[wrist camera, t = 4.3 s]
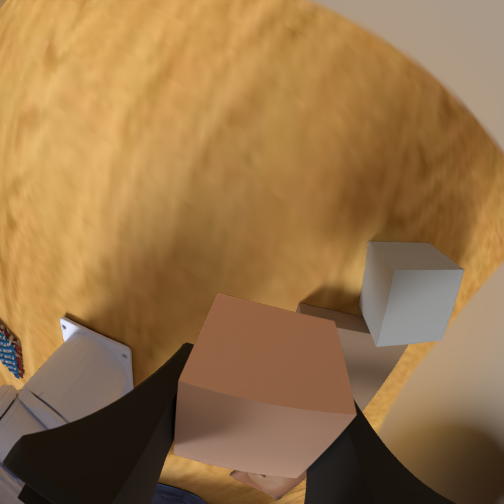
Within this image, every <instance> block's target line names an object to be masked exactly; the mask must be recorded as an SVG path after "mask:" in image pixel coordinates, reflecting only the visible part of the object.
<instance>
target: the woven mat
mask: <svg viewBox="0 0 504 504" xmlns="http://www.w3.org/2000/svg"><path fill="white" fill-rule="evenodd" d="M21 357H22V356H21V353H20V343H19V340H18V339H17V342H16V341H15V338H14V336H13V335H12V334H11V335H10V332H9V330H8V329H7V333H6V331H5V326H4V325H3V324H1V322H0V361H1V362H2V363H3V365H5V366H6V367H8V369H9V371H10V372H11V373H12V374H14V375H15V377H16V378H18V379H20V377H21V378H23V373H24V372H23V369H22V361H21ZM18 375H19V376H20V377H19V376H18Z"/></svg>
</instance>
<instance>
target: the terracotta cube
mask: <svg viewBox="0 0 504 504" xmlns="http://www.w3.org/2000/svg"><path fill="white" fill-rule="evenodd" d="M356 415H357V414H356V409H355V404H354V399H353V395H352V390H351V386H350V381H349V377H348V372H347V368H346V364H345V360H344V356H343V352H342V348H341V344H340V340H339V336H338V332H337V328H336V324H335V321H332V320H328V319H323V318H318V317H314V316H310V315H305V314H301V313H297V312H292V311H288V310H284V309H280V308H276V307H272V306H268V305H264V304H260V303H256V302H252V301H248V300H244V299H240V298H236V297H233V296H229V295H225V294H221V293H218V294H217V296H216V298H215V300H214V302H213V305H212V307H211V309H210V311H209V313H208V316H207V318H206V320H205V322H204V324H203V327H202V329H201V331H200V333H199V335H198V338H197V340H196V342H195V344H194V347H193V349H192V351H191V353H190V356H189V358H188V360H187V362H186V365H185V367H184V369H183V371H182V374H181V376H180V378H179V380H178V392H177V405H176V419H175V436H174V454H175V455H178V456H181V457H184V458H188V459H191V460H195V461H198V462H202V463H206V464H210V465H214V466H218V467H223V468H228V469H232V470H238V471H243V472H249V473H255V474H262V475H269V476H278V477H288V478H297V477H298V476H300V475H301V474H302V473H303V472H304V471H305V470H306V469H307V468H308V467H309V466H310V465H311V464H312V463H313V462H314V461H315V460H316V459H317V458H318V457H319V456H320V455H321V454H322V453H323V452H324V451H325V450H326V449H327V448H328V447H329V446H330V445H331V444H332V443H333V442H334V441H335V439H336V438H337V437H338V436H339V435H340V434H341V433H342V432H343V431H344V429H345V428H346V427H347V426H348V425H349V424H350V422H351V421H352V420H353V419H354V418H355V416H356Z"/></svg>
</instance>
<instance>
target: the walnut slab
mask: <svg viewBox="0 0 504 504" xmlns="http://www.w3.org/2000/svg"><path fill="white" fill-rule="evenodd" d="M296 312H297V313H301V314H305V315H310V316H314V317H318V318H323V319H328V320H332V321H335V324H336V328H337V332H338V336H339V340H340V344H341V348H342V352H343V356H344V360H345V364H346V368H347V372H348V377H349V381H350V386H351V390H352V395H353V398H354V400H355V402H356V403H357V405H358V406H359V408H360V410H361V411H363V410H364V409H365V407H366V406H367V405H368V403H369V402H370V401H371V400H372V398H373V397H374V395H375V394H376V393H377V391H378V390H379V389H380V387H381V386H382V384H383V383H384V382H385V380H386V379H387V377H388V376H389V374H390V373H391V371H392V370H393V368H394V367H395V365H396V364H397V362H398V361H399V359H400V357H401V356H402V354H403V353H404V351H405V349H406V348H407V346H408V344H405V345H394V346H381V347H376V345H375V343H374V340H373V338H372V335H371V333H370V331H369V328H368V326H367V324H366V321H365V319H364V317H362V316H358V315H353V314H348V313H343V312H339V311H334V310H329V309H325V308H320V307H316V306H312V305H307V304H303V303H299V304H298V307H297V310H296Z"/></svg>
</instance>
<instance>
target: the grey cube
mask: <svg viewBox="0 0 504 504" xmlns="http://www.w3.org/2000/svg"><path fill="white" fill-rule="evenodd" d="M463 272H464V269H463V268H462V267H460V266H459V265H458V264H456V263H455V262H454V261H452V260H451V259H450V258H449V257H447V256H446V255H445V254H443V253H442V252H440V251H439V250H438V249H436V248H435V247H434V246H432V245H431V244H429V243H413V242H382V241H368V247H367V255H366V263H365V270H364V277H363V284H362V290H361V296H360V302H359V307H360V310H361V312H362V314H363V317H364V319H365V321H366V324H367V326H368V328H369V331H370V333H371V335H372V338H373V340H374V343H375V345H376V347H381V346H394V345H405V344H414V343H423V342H431V341H438V340H442V339H443V336H444V333H445V331H446V328H447V325H448V322H449V320H450V317H451V314H452V311H453V308H454V304H455V301H456V298H457V295H458V291H459V288H460V284H461V280H462V276H463Z"/></svg>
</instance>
